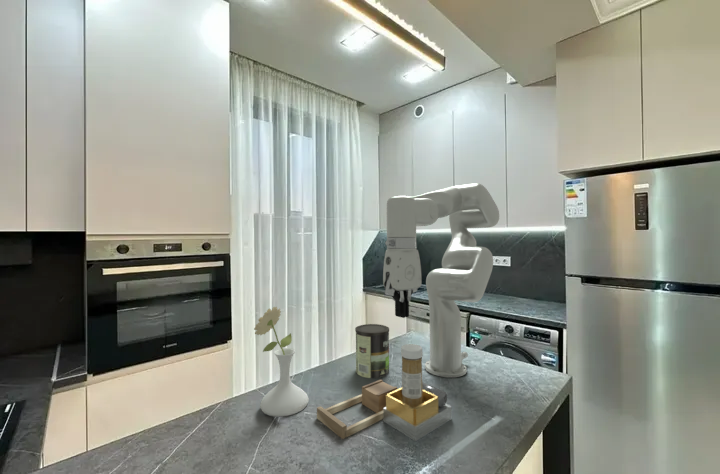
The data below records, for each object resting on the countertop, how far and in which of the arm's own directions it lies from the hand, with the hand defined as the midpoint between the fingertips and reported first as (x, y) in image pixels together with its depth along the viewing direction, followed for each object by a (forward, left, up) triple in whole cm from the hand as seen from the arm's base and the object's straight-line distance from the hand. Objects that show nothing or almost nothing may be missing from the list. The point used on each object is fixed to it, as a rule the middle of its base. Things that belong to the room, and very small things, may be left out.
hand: (402, 316), depth 80 cm
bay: (+13, 0, -21) cm, 25 cm away
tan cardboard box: (+8, 0, -20) cm, 21 cm away
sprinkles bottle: (+8, +10, -17) cm, 21 cm away
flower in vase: (+26, -15, -21) cm, 37 cm away
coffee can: (-4, -16, -21) cm, 27 cm away
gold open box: (+6, +10, -21) cm, 24 cm away
